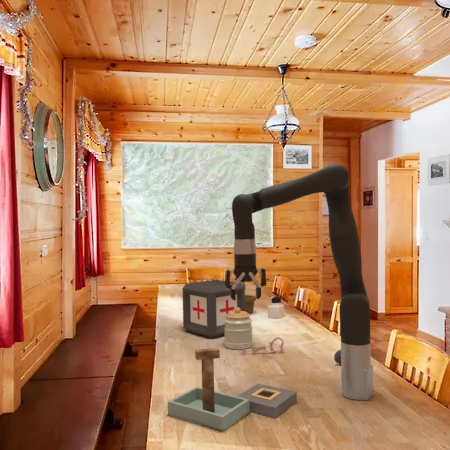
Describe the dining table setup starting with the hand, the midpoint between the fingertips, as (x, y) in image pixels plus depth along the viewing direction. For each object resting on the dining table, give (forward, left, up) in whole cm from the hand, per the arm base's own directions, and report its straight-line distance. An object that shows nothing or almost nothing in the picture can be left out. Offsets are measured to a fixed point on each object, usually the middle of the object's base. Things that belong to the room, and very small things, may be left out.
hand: (245, 299), depth 155 cm
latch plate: (-13, +10, -30) cm, 34 cm away
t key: (-2, +25, -30) cm, 39 cm away
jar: (+30, -40, -30) cm, 58 cm away
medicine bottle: (+44, -102, -30) cm, 115 cm away
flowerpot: (+66, -102, -30) cm, 125 cm away
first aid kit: (+56, -57, -30) cm, 85 cm away
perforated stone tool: (-22, -42, -30) cm, 56 cm away
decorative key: (+15, -35, -30) cm, 49 cm away
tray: (-2, +25, -30) cm, 39 cm away
